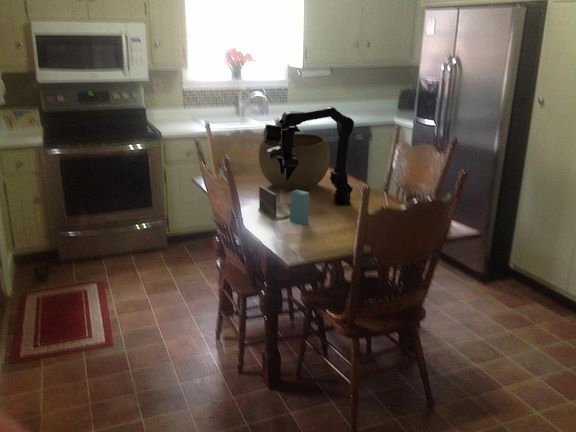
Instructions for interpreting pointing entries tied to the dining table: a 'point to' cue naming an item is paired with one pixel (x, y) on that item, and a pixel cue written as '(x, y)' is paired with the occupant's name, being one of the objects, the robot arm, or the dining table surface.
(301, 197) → the tall teal pillar
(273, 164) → the brown bowl
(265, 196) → the grey l-shaped bracket
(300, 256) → the dining table surface
